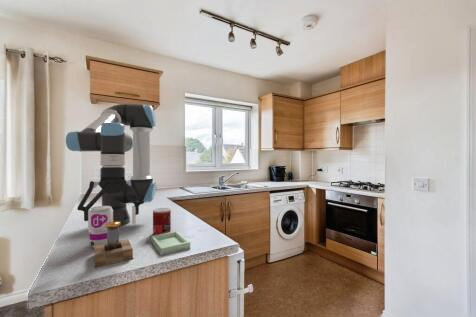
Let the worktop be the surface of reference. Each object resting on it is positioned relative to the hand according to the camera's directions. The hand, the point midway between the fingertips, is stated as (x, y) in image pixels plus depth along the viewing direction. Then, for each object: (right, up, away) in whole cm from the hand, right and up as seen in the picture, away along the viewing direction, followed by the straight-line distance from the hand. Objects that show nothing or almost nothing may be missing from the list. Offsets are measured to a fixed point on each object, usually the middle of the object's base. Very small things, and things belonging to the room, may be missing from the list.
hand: (112, 227), depth 78 cm
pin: (0, -11, 0) cm, 11 cm away
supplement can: (-11, -11, +12) cm, 20 cm away
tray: (+17, -11, +11) cm, 23 cm away
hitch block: (0, -11, 0) cm, 11 cm away
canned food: (+9, -11, +25) cm, 29 cm away
